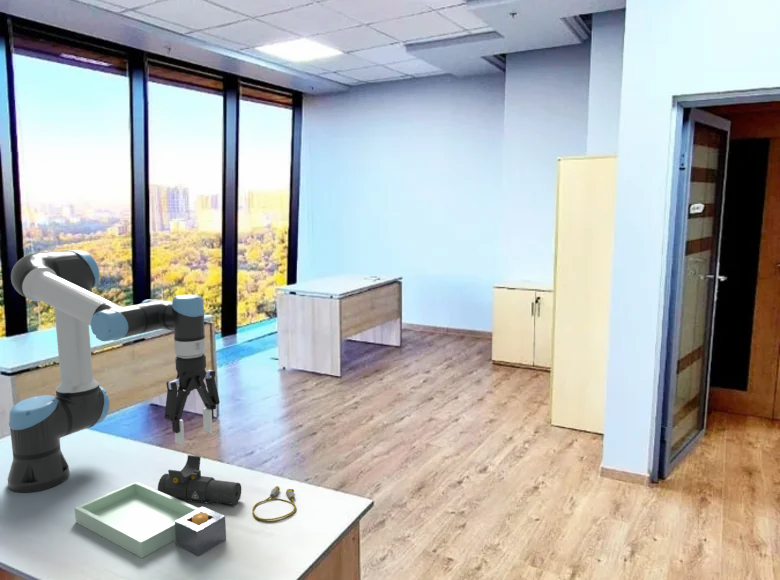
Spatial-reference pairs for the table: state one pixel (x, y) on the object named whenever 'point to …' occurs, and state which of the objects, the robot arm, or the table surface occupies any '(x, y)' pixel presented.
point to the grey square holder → (200, 532)
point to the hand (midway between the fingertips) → (194, 437)
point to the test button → (199, 518)
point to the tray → (134, 517)
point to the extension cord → (273, 493)
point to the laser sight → (198, 485)
